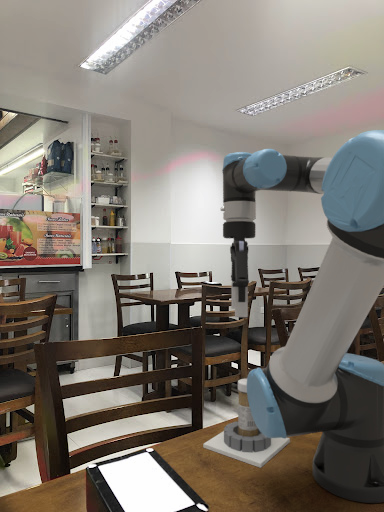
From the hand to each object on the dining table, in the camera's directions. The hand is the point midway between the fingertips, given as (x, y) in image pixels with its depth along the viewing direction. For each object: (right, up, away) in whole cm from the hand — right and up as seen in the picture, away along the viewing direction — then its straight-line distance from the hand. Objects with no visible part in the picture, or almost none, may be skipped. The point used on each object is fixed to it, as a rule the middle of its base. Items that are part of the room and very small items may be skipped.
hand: (238, 312), depth 95 cm
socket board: (+1, -29, -5) cm, 29 cm away
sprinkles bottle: (+2, -28, -5) cm, 29 cm away
